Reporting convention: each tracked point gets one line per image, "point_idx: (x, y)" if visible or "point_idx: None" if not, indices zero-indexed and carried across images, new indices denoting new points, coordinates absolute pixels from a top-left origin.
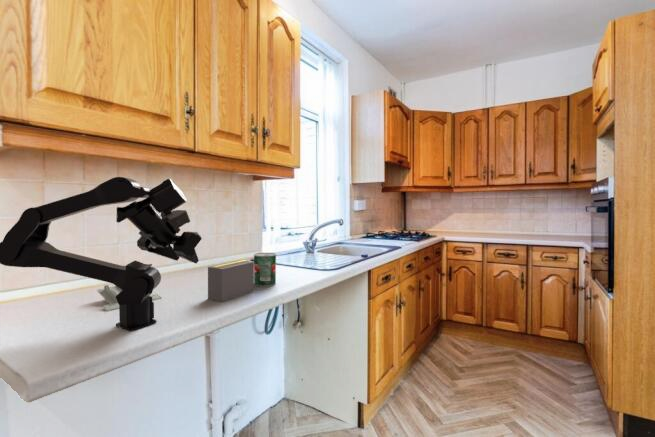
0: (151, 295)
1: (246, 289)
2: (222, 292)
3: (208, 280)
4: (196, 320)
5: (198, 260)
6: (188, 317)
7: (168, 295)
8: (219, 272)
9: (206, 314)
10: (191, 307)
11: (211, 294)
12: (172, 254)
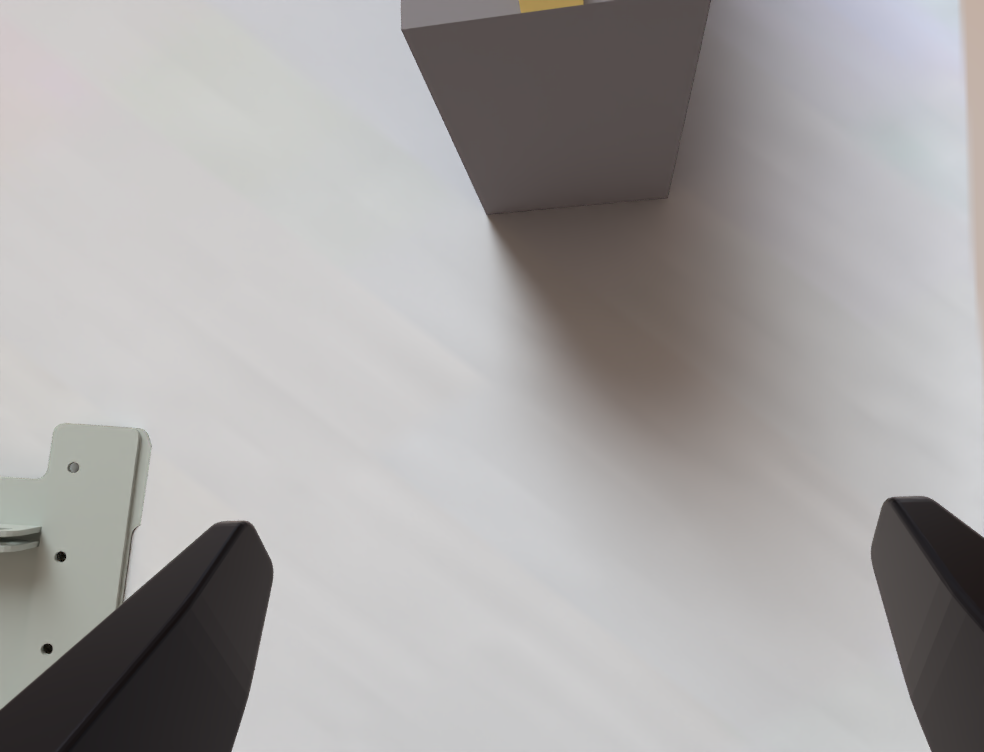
0: (60, 480)
1: None
2: (675, 153)
3: (456, 129)
4: None
5: (932, 507)
6: (786, 642)
7: (122, 346)
8: (650, 32)
9: (851, 503)
10: (570, 449)
11: (524, 190)
12: (174, 742)
